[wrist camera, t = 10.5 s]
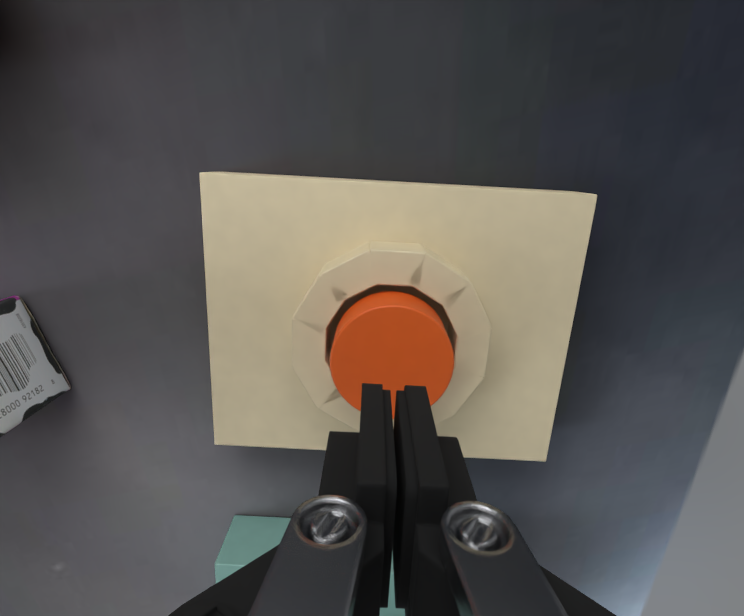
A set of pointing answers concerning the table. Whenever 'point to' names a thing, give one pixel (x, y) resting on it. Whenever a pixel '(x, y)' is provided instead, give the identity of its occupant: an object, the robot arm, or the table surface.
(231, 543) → the dial panel
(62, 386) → the candy bar box
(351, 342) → the power button
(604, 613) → the robot arm
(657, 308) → the table surface
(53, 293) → the table surface
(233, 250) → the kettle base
